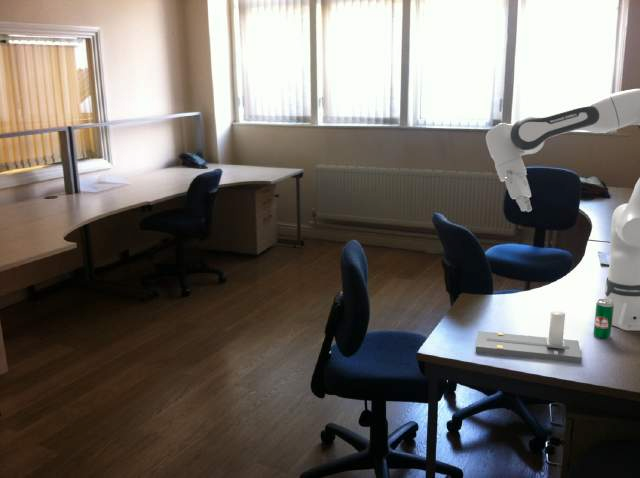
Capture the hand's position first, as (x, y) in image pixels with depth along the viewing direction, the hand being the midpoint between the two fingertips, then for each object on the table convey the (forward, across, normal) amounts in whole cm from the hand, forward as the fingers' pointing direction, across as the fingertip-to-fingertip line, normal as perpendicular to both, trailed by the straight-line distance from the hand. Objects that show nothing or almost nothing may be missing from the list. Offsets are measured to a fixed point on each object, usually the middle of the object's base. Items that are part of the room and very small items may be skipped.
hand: (527, 211), depth 207 cm
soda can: (+46, +5, -7) cm, 46 cm away
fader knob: (+42, -13, +4) cm, 44 cm away
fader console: (+41, -14, +13) cm, 45 cm away
